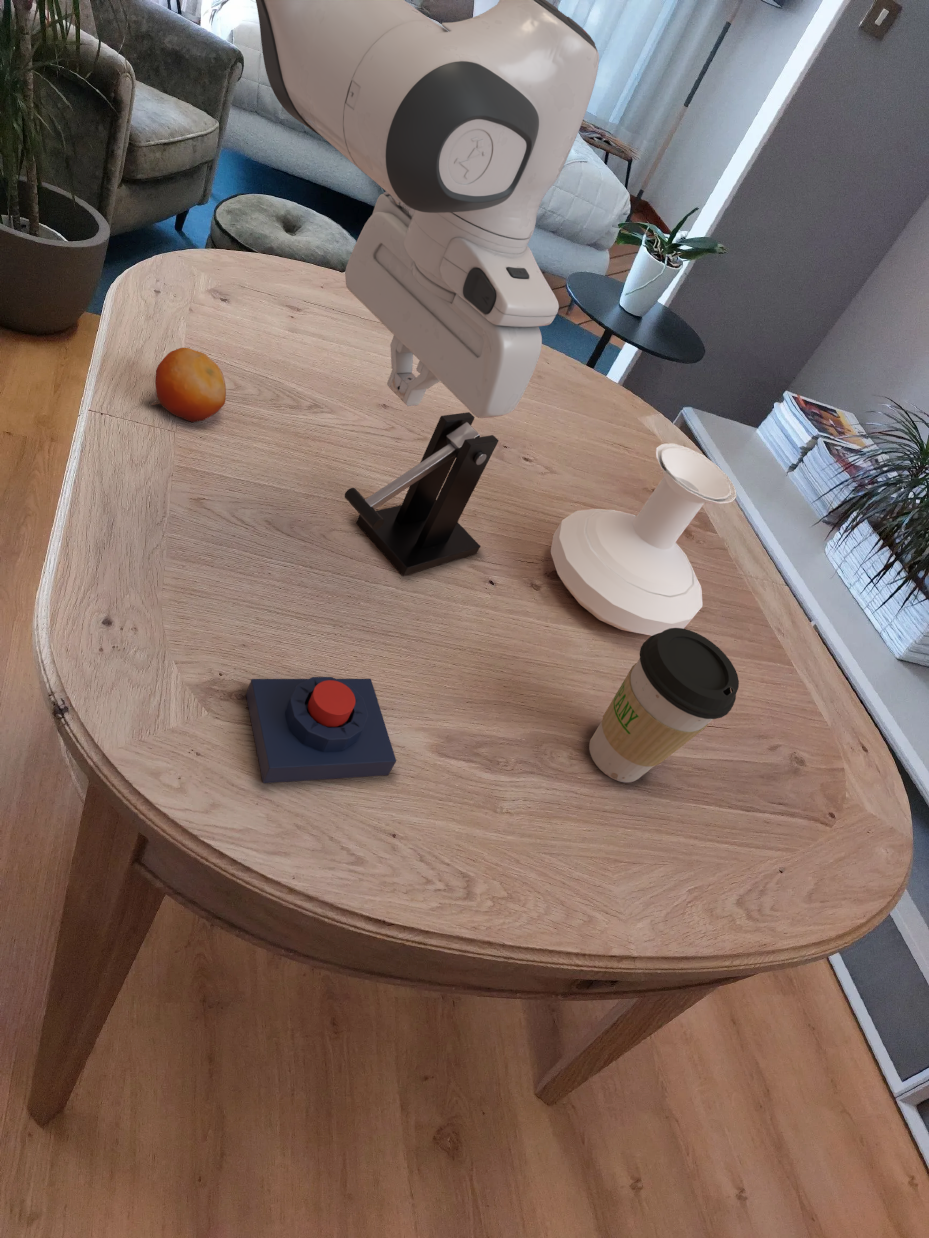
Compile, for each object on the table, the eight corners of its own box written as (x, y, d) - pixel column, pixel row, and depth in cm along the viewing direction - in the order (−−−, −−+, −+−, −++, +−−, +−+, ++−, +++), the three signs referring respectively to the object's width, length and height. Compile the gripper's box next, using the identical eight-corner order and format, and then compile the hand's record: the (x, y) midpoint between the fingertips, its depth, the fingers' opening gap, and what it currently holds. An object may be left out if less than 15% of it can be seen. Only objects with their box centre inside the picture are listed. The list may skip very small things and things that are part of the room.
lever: (374, 534, 86) (371, 522, 83) (346, 503, 87) (342, 490, 85) (488, 456, 89) (488, 442, 87) (459, 427, 91) (458, 413, 89)
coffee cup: (608, 704, 91) (684, 610, 81) (674, 772, 87) (762, 682, 78) (554, 739, 84) (631, 641, 74) (624, 814, 80) (714, 721, 71)
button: (312, 728, 68) (318, 715, 67) (303, 693, 71) (309, 680, 69) (353, 726, 70) (359, 714, 69) (344, 692, 72) (350, 679, 71)
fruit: (153, 363, 98) (197, 326, 95) (202, 416, 102) (247, 382, 98) (123, 394, 92) (169, 355, 89) (176, 448, 96) (223, 414, 92)
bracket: (403, 576, 92) (457, 462, 82) (355, 522, 95) (402, 407, 85) (476, 554, 100) (534, 448, 90) (430, 505, 103) (481, 397, 93)
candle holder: (581, 654, 95) (674, 527, 83) (515, 533, 106) (587, 407, 94) (707, 651, 105) (806, 539, 93) (634, 542, 117) (713, 429, 104)
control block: (262, 783, 67) (274, 755, 65) (245, 694, 73) (256, 665, 70) (388, 775, 73) (403, 748, 70) (363, 693, 78) (377, 665, 76)
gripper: (356, 172, 66) (309, 328, 75) (520, 319, 59) (446, 473, 67) (415, 182, 71) (363, 328, 79) (574, 319, 63) (498, 464, 72)
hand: (402, 396), depth 73 cm, fingers closed
